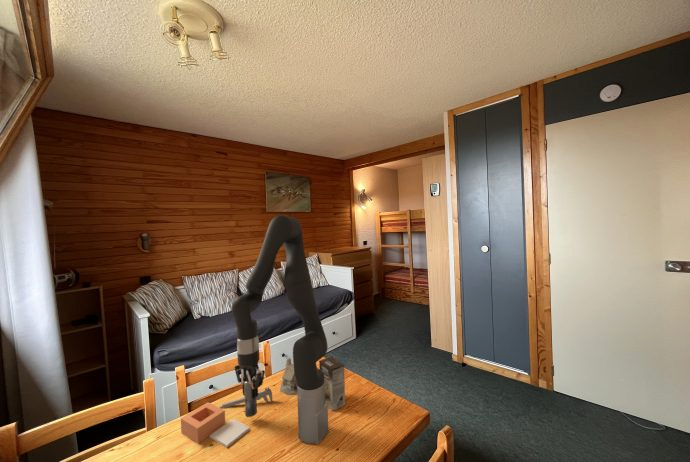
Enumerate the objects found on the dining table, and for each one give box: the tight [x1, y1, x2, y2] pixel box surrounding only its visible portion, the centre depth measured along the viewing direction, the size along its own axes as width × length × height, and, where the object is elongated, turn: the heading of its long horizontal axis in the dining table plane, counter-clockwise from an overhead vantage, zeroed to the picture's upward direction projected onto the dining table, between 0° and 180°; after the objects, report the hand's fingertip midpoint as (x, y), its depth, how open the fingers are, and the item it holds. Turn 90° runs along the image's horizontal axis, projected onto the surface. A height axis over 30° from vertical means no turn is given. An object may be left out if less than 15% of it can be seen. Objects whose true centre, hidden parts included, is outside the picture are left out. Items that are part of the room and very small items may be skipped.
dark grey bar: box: [244, 377, 258, 418], centre depth 98 cm, size 4×4×12 cm
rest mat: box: [209, 418, 251, 449], centre depth 92 cm, size 9×9×1 cm
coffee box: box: [318, 356, 346, 412], centre depth 107 cm, size 9×6×16 cm
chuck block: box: [180, 401, 226, 444], centre depth 95 cm, size 10×10×5 cm
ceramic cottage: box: [279, 357, 319, 396], centre depth 119 cm, size 16×16×15 cm
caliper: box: [218, 386, 273, 409], centre depth 108 cm, size 20×1×6 cm, turn 98°
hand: (250, 395), depth 98 cm, fingers closed on dark grey bar, 4 cm apart
